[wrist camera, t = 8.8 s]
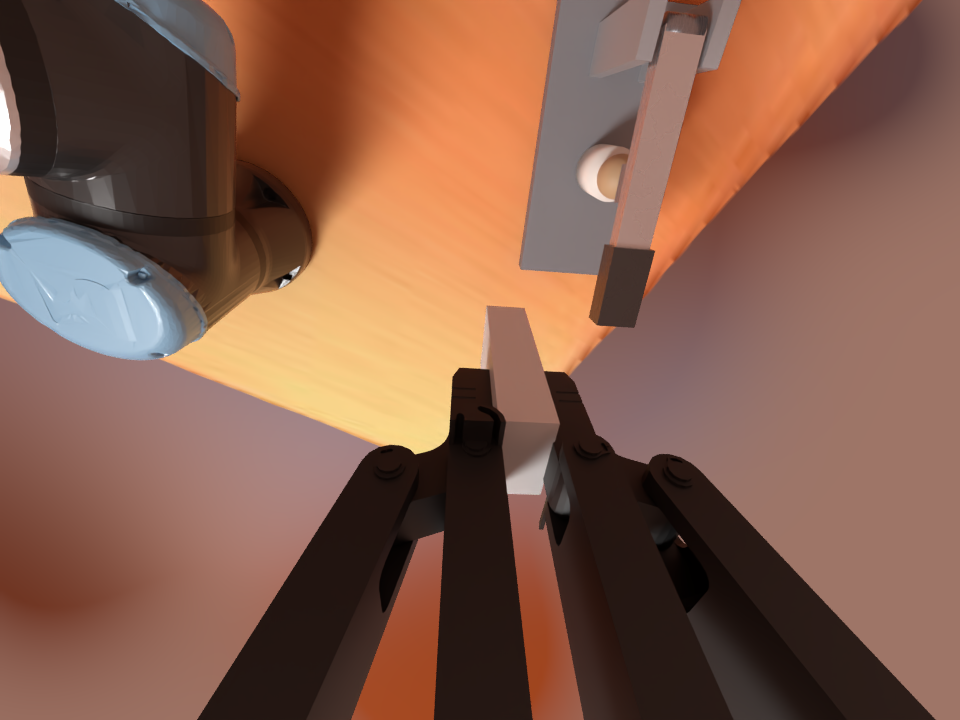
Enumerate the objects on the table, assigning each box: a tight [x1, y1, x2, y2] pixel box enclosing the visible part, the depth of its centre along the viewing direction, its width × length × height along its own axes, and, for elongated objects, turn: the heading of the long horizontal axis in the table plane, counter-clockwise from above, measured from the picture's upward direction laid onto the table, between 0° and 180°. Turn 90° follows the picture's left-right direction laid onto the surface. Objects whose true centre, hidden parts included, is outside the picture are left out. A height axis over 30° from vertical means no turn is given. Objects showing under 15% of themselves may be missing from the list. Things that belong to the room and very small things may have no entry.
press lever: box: [589, 11, 708, 328], centre depth 31 cm, size 4×23×3 cm, turn 175°
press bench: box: [519, 0, 741, 275], centre depth 36 cm, size 14×26×14 cm, turn 175°
